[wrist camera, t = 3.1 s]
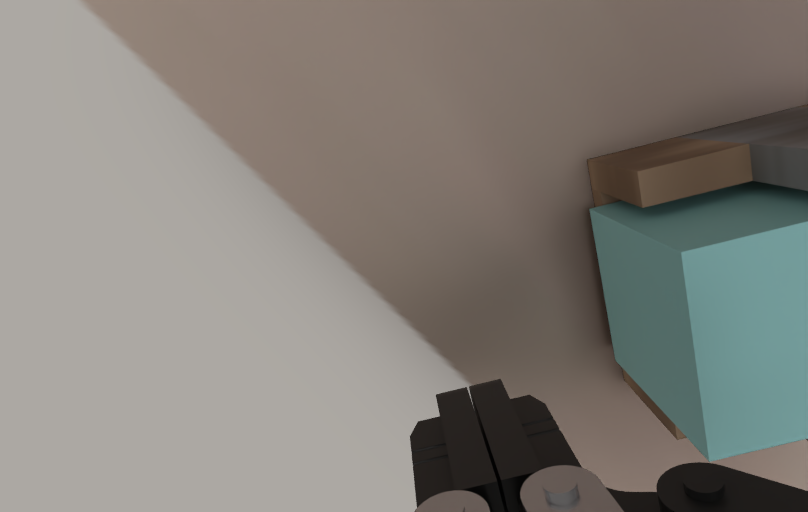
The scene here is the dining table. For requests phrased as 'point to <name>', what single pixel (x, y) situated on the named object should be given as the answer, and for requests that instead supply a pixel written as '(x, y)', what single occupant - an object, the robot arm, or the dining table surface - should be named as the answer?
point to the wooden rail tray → (704, 173)
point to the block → (713, 311)
